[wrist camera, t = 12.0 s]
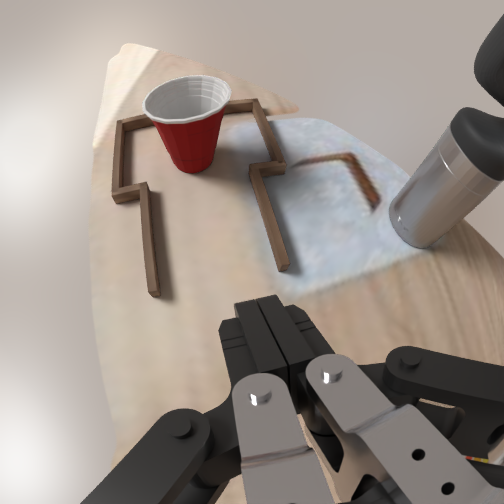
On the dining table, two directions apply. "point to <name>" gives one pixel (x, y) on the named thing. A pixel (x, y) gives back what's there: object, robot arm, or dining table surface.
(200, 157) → the plastic cup
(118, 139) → the T fence
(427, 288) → the dining table surface
